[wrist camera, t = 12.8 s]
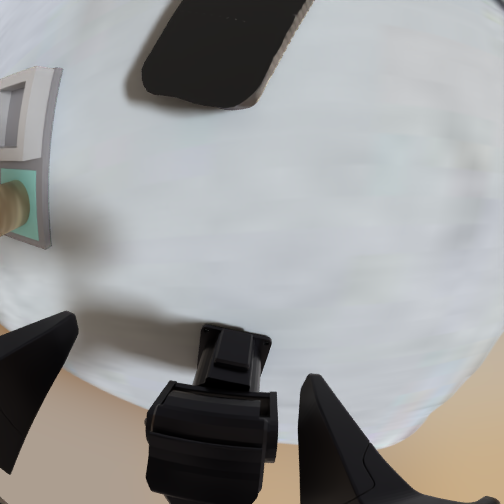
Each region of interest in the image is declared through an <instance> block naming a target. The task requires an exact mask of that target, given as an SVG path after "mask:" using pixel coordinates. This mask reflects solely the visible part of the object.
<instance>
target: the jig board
mask: <svg viewBox="0 0 504 504" xmlns="http://www.w3.org/2000/svg"><path fill="white" fill-rule="evenodd" d="M62 72H63V69H62V68H47V67H41V66H35V67H32V68H29V69H26V70H23V71H20V72H17V73H14V74H12V75H9V76H7V77H4V78H2V79H0V184H3V183H6V182H10V181H13V180H19V181H20V182H22V183H23V185H24V186H25V188H26V190H27V193H28V196H29V202H30V213H29V218H28V220H27V222H26V223H25V224H24V225H22V226H20V227H18V228H16V229H14V230H12V231H10V232H8V233H6V234H5V235H6V236H8V237H11V238H14V239H17V240H19V241H22V242H25V243H28V244H31V245H34V246H37V247H40V248H43V249H47V248H49V247H50V246H51V237H50V223H49V158H50V145H51V135H52V126H53V119H54V112H55V106H56V100H57V95H58V90H59V85H60V80H61V76H62Z"/></svg>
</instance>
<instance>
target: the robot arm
mask: <svg viewBox="0 0 504 504" xmlns="http://www.w3.org/2000/svg"><path fill="white" fill-rule="evenodd" d="M205 329H208V330H209V331H207V330H205ZM77 335H78V325H77V320H76V316H75V314H73V313H71V312H69V311H64V312H61V313H58V314H56V315H53V316H50V317H48V318H45V319H43V320H40V321H37V322H35V323H32V324H30V325H27V326H24V327H22V328H19V329H17V330H14V331H12V332H9V333H6V334H4V335H1V336H0V468H1V469H2V470H4V471H5V472H6V473H8V474H9V475H10V474H11V472H12V470H13V467H14V465H15V462H16V460H17V457H18V455H19V452H20V450H21V447H22V445H23V443H24V440H25V438H26V436H27V434H28V431H29V429H30V427H31V425H32V423H33V421H34V419H35V417H36V415H37V413H38V411H39V409H40V407H41V405H42V403H43V401H44V399H45V397H46V395H47V393H48V391H49V390H50V388H51V386H52V384H53V382H54V380H55V379H56V377H57V375H58V374H59V372H60V370H61V368H62V367H63V365H64V363H65V361H66V359H67V357H68V354H69V352H70V350H71V348H72V346H73V344H74V342H75V340H76V338H77ZM265 341H267V343H265ZM271 344H272V340H271V338H270V337H266V336H261V335H255V334H250V333H245V332H240V331H235V330H231V329H226V328H221V327H217V326H212V325H208V324H205V325H203V327H202V329H201V336H200V345H199V354H198V364H197V371H196V375H195V378H194V381H193V384H192V385H188V384H182V383H177V382H176V381H171V380H170V381H169V382H168V384H167V385H166V387H165V388H164V389H163V391H162V392H161V393H160V395H159V396H158V398H157V399H156V401H155V402H154V403H153V405H152V406H151V408H150V409H149V410H148V412H147V418H146V419H145V426H146V438H147V441H148V443H149V457H148V465H147V472H146V480H147V483H148V485H149V487H150V490H151V491H153V492H156V493H160V494H164V496H165V498H166V499H167V501H168V502H169V504H252V503H253V502H254V501H255V499H256V498H257V496H258V493H259V492H260V491H261V489H262V482H263V473H264V463H265V462H266V463H274V462H275V458H276V451H277V441H278V410H277V392H270V393H266V392H259V388H260V376H261V374H262V371H263V368H264V365H265V362H266V359H267V356H268V353H269V350H270V347H271ZM369 442H370V441H369V440H368V438H367V437H366V436H365V434H364V433H363V432H362V430H361V429H360V428H359V426H358V425H357V424H356V422H355V421H354V420H353V418H352V417H351V416H350V414H349V413H348V412H347V410H346V409H345V408H344V406H343V405H342V403H341V402H340V401H339V399H338V398H337V397H336V395H335V394H334V393H333V391H332V390H331V388H330V387H329V386H328V384H327V383H326V382H325V380H324V379H323V378H322V376H321V375H319V374H312V373H311V374H309V375H308V376H307V378H306V380H305V382H304V383H303V385H302V387H301V391H300V404H299V418H298V445H299V470H300V504H500V502H499V501H498V500H497V499H495V498H493V497H489V496H485V497H483V498H481V499H480V500H478V501H476V502H472V503H463V502H457V501H451V500H446V499H441V498H436V497H432V496H428V495H424V494H421V493H419V492H417V491H416V490H414V489H413V488H411V486H409V484H407V483H406V482H405V481H404V480H403V479H402V478H401V477H400V476H399V475H398V474H397V473H396V472H395V471H394V470H393V468H392V467H391V466H390V465H389V464H388V463H387V462H386V461H385V460H384V459H383V457H382V456H381V455H380V454H379V453H378V451H377V450H376V449H375V447H374V446H373V445H372V444H371V443H369ZM0 504H8V503H7V502H5V501H4V500H3V499H2V498H1V497H0Z"/></svg>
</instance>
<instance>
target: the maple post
mask: <svg viewBox="0 0 504 504" xmlns="http://www.w3.org/2000/svg"><path fill="white" fill-rule="evenodd" d="M29 213H30V202H29V196H28V193H27V190H26V188H25V186H24V185H23V183H22V182H20V181H19V180H13V181H10V182H6V183H3V184H0V237H1V236H3V235H5V234H6V233H8V232H10V231H12V230H14V229H16V228H18V227H20V226H22V225H24V224H25V223H26V222H27V220H28V218H29Z"/></svg>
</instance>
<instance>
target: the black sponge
mask: <svg viewBox="0 0 504 504" xmlns="http://www.w3.org/2000/svg"><path fill="white" fill-rule="evenodd" d="M314 1H315V0H183V1H182V2H181V4H180V5H179V7H178V8H177V10H176V11H175V13H174V14H173V16H172V17H171V19H170V21H169V22H168V24H167V26H166V27H165V29H164V31H163V33H162V34H161V36H160V38H159V39H158V41H157V43H156V44H155V46H154V48H153V49H152V51H151V53H150V54H149V56H148V57H147V59H146V61H145V62H144V65H143V67H142V81H143V85H144V87H145V88H146V90H147V91H148V92H150V93H152V94H154V95H163V96H171V97H177V98H180V99H183V100H186V101H189V102H192V103H195V104H200V105H205V106H212V107H218V108H221V109H225V110H239V109H246V108H250V107H252V106H254V105H255V104H256V103H257V102H258V101H259V99H260V97H261V95H262V93H263V91H264V89H265V87H266V85H267V83H268V81H269V80H270V78H271V76H272V74H273V73H274V70H275V68H276V67H277V65H278V63H279V62H280V60H281V58H282V56H283V54H284V52H285V51H286V49H287V46H288V44H290V42H291V39H292V37H293V36H294V34H295V31H296V30H297V29H298V27H299V25H300V24H301V22H302V21H303V19H304V17H305V16H306V14H307V12H308V11H309V8H310V7H311V6H312V4H313V2H314Z"/></svg>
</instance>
